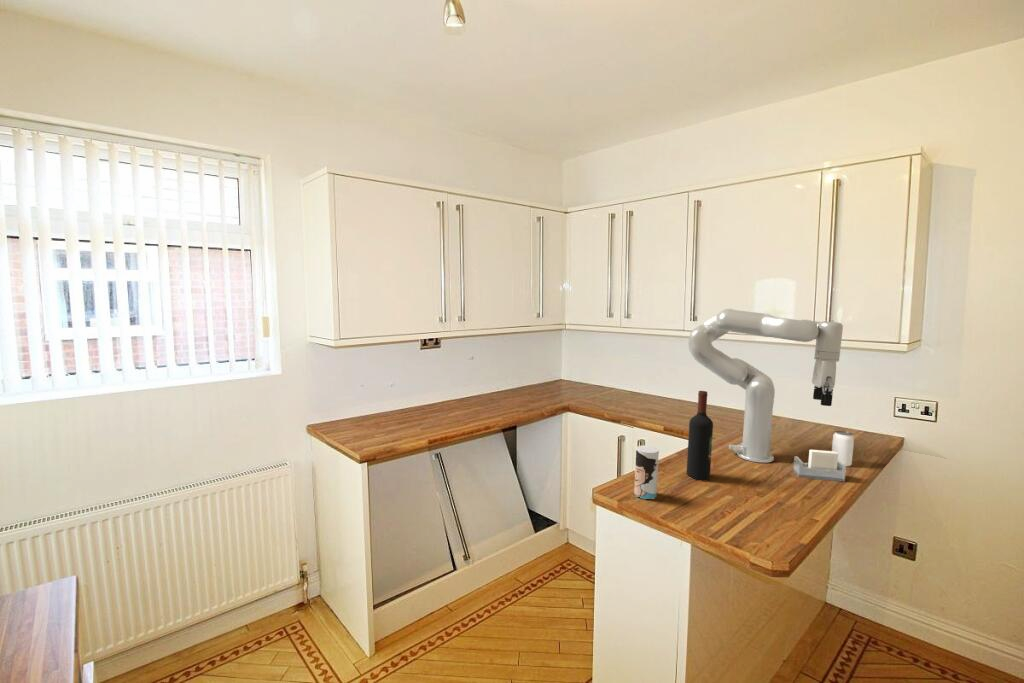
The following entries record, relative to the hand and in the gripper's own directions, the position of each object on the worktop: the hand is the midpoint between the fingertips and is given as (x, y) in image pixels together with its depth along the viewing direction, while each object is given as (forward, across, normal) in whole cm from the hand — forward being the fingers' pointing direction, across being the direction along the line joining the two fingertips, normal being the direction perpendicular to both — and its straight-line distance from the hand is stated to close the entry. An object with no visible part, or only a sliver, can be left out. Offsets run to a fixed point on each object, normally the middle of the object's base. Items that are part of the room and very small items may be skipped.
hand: (821, 402), depth 174 cm
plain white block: (+23, +10, 0) cm, 25 cm away
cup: (+25, +48, -58) cm, 79 cm away
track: (+24, +10, -2) cm, 26 cm away
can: (+24, -7, +10) cm, 27 cm away
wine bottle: (+25, +26, -42) cm, 55 cm away
